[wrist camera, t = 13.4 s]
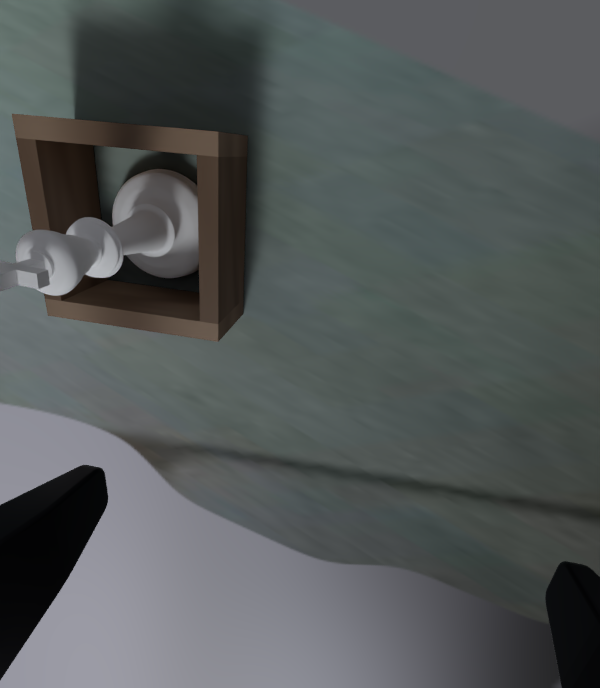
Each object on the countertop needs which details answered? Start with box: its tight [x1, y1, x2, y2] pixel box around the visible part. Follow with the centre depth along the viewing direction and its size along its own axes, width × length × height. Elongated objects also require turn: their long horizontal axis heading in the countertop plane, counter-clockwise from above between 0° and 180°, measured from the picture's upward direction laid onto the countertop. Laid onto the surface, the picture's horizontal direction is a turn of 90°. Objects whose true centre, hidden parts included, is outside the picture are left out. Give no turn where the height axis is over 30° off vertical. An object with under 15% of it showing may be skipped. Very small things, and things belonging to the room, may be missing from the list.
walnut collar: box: [12, 114, 248, 342], centre depth 18 cm, size 8×8×4 cm
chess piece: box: [0, 169, 199, 296], centre depth 16 cm, size 5×5×10 cm
